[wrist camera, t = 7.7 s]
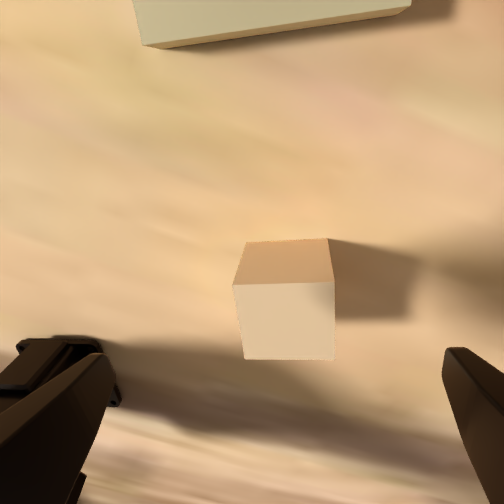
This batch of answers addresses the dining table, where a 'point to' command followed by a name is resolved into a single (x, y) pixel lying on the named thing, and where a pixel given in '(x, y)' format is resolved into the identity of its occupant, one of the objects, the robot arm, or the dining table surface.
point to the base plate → (246, 17)
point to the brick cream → (286, 300)
